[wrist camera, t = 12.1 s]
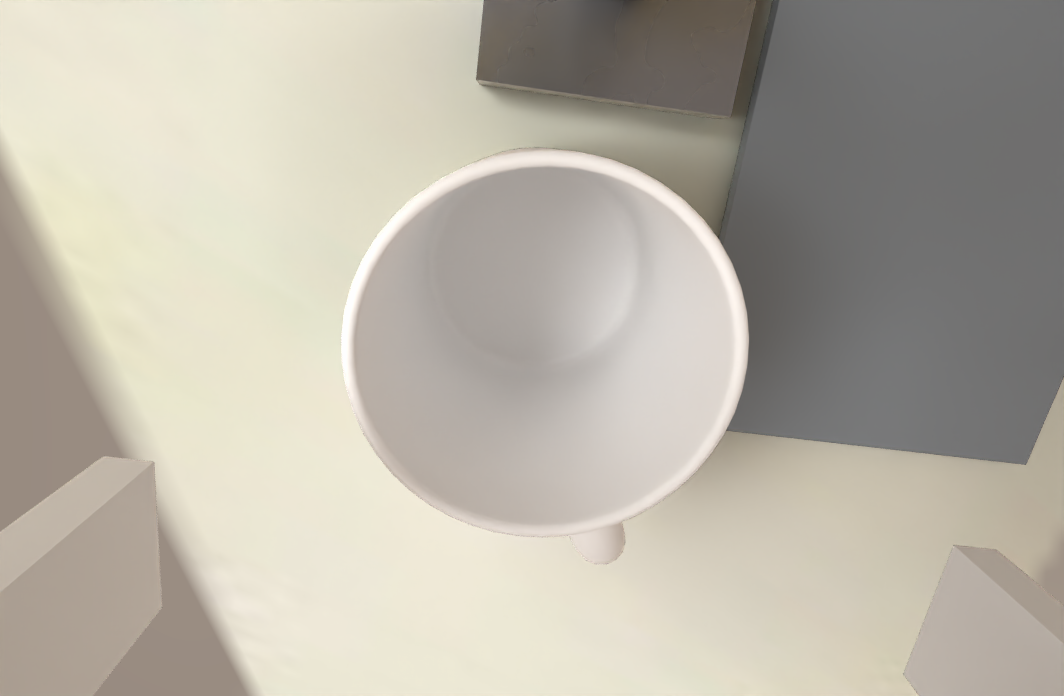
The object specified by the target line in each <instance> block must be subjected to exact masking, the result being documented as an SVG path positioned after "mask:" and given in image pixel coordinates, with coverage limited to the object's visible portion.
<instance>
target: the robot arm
mask: <svg viewBox="0 0 1064 696" xmlns="http://www.w3.org/2000/svg"><path fill="white" fill-rule="evenodd" d="M161 608H162V596H161V579H160V560H159V541H158V522H157V504H156V485H155V467H154V462H153V461H144V460H134V459H124V458H115V457H105V456H104V457H102V458H100V459H99V460H98V461H96V462H95V463H94V464H92V465H91V466H89V467H88V468H87V469H85V470H84V471H83V472H81V473H80V474H78V475H77V476H76V477H74V478H73V479H72V480H70V481H69V482H68V483H66V484H65V485H64V486H62V487H61V488H59V489H58V490H57V491H55V492H54V493H53V494H51V495H50V496H48V497H47V498H46V499H44V500H43V501H42V502H40V503H39V504H37V505H36V506H35V507H34V508H32V509H31V510H29V511H28V512H27V513H25V514H24V515H22V516H21V517H20V518H18V519H17V520H16V521H14V522H13V523H12V524H10V525H9V526H8V527H6V528H5V529H3V530H2V531H1V532H0V696H93V695H94V694H95V692H96V691H97V690H98V688H99V687H100V686H101V685H102V683H103V682H104V681H105V680H106V678H107V677H108V675H110V673H111V672H112V670H113V669H114V668H115V667H116V666H117V664H118V663H119V662H120V660H121V659H122V658H123V657H124V655H125V654H126V653H127V651H128V650H129V649H130V648H131V646H132V645H133V644H134V643H135V641H136V640H137V639H138V637H139V636H140V635H141V634H142V632H143V631H144V630H145V628H146V627H147V626H148V625H149V623H150V622H151V621H152V620H153V618H154V617H155V616H156V614H157V613H158V612H159V611H160V609H161ZM903 675H904V676H905V677H906V679H907V680H908V681H909V683H910V684H911V686H912V687H913V688H914V690H915V691H916V692H917V694H918V695H919V696H1064V605H1063V604H1062V603H1060V602H1059V601H1058V600H1057V599H1056V598H1054V597H1053V596H1052V595H1051V594H1049V593H1048V592H1047V591H1046V590H1045V589H1043V588H1042V587H1041V586H1040V585H1039V584H1037V583H1036V582H1035V581H1034V580H1033V579H1031V578H1030V577H1029V576H1028V575H1027V574H1025V573H1024V572H1023V571H1022V570H1020V569H1019V568H1018V567H1017V566H1016V565H1014V564H1013V563H1012V562H1011V561H1010V560H1008V559H1007V558H1006V557H1005V556H1003V555H1002V554H1001V553H1000V552H999V551H997V550H995V549H986V548H976V547H967V546H957V545H953V548H952V550H951V553H950V555H949V558H948V561H947V563H946V566H945V568H944V571H943V573H942V576H941V578H940V581H939V584H938V586H937V589H936V591H935V594H934V596H933V599H932V601H931V604H930V607H929V609H928V612H927V614H926V617H925V619H924V622H923V624H922V627H921V630H920V632H919V635H918V637H917V640H916V642H915V645H914V647H913V650H912V653H911V655H910V658H909V660H908V663H907V665H906V668H905V670H904V673H903Z"/></svg>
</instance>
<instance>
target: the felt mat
mask: <svg viewBox="0 0 1064 696" xmlns="http://www.w3.org/2000/svg"><path fill="white" fill-rule="evenodd" d="M719 240H720V242H721V244H722V246H723V247H724V249H725V251H726V253H727V255H728V257H729V258H730V260H731V262H732V264H733V267H734V269H735V272H736V275H737V277H738V280H739V283H740V285H741V288H742V292H743V297H744V301H745V306H746V310H747V318H748V332H749V347H748V363H747V370H746V375H745V380H744V385H743V390H742V393H741V396H740V399H739V402H738V404H737V407H736V410H735V413H734V415H733V417H732V419H731V421H730V423H729V425H728V427H727V429H726V431H735V432H743V433H752V434H761V435H770V436H778V437H787V438H796V439H805V440H813V441H822V442H831V443H840V444H849V445H857V446H866V447H875V448H884V449H892V450H901V451H910V452H919V453H928V454H936V455H945V456H954V457H963V458H971V459H980V460H989V461H998V462H1006V463H1015V464H1024V465H1026V463H1027V461H1028V459H1029V456H1030V454H1031V452H1032V449H1033V447H1034V445H1035V442H1036V440H1037V438H1038V435H1039V433H1040V431H1041V428H1042V426H1043V424H1044V421H1045V419H1046V417H1047V414H1048V412H1049V410H1050V408H1051V405H1052V403H1053V401H1054V398H1055V396H1056V394H1057V391H1058V389H1059V387H1060V384H1061V382H1062V380H1063V377H1064V0H773V2H772V7H771V11H770V15H769V20H768V24H767V29H766V33H765V37H764V42H763V46H762V51H761V55H760V59H759V64H758V68H757V73H756V77H755V82H754V86H753V90H752V95H751V99H750V104H749V108H748V112H747V117H746V121H745V126H744V130H743V134H742V139H741V143H740V148H739V152H738V157H737V161H736V165H735V170H734V174H733V179H732V183H731V187H730V192H729V196H728V201H727V205H726V209H725V214H724V218H723V223H722V227H721V231H720V236H719Z"/></svg>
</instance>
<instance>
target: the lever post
mask: <svg viewBox="0 0 1064 696" xmlns="http://www.w3.org/2000/svg"><path fill="white" fill-rule="evenodd" d="M755 5H756V0H484V5H483V15H482V25H481V36H480V46H479V56H478V67H477V77H476V80H477V82H478V83H479V84H481V85H488V86H495V87H501V88H508V89H515V90H522V91H529V92H536V93H542V94H549V95H556V96H563V97H570V98H577V99H583V100H590V101H597V102H604V103H611V104H618V105H625V106H631V107H638V108H645V109H652V110H659V111H666V112H672V113H679V114H686V115H693V116H700V117H707V118H713V119H719V118H727V117H731V114H732V110H733V105H734V100H735V96H736V91H737V87H738V82H739V78H740V73H741V69H742V64H743V59H744V55H745V50H746V46H747V41H748V37H749V32H750V28H751V23H752V18H753V14H754V9H755Z"/></svg>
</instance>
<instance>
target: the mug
mask: <svg viewBox="0 0 1064 696" xmlns="http://www.w3.org/2000/svg"><path fill="white" fill-rule="evenodd" d="M748 347H749V332H748V318H747V310H746V306H745V301H744V297H743V292H742V288H741V285H740V283H739V280H738V277H737V275H736V272H735V269H734V267H733V264H732V262H731V260H730V258H729V257H728V255H727V253H726V251H725V249H724V247H723V246H722V244H721V242H720V240H719V239H718V237H717V236H716V235H715V233H714V232H713V231H712V229H711V228H710V227H709V225H708V224H707V223H706V221H705V220H704V219H703V218H702V217H701V216H700V215H699V214H698V213H697V212H696V211H695V210H694V209H693V208H692V207H691V206H690V205H689V204H688V203H687V202H686V201H685V200H684V199H683V198H682V197H680V196H679V195H678V194H676V193H675V192H674V191H672V190H671V189H670V188H668V187H667V186H666V185H664V184H663V183H661V182H660V181H658V180H656V179H654V178H653V177H651V176H649V175H647V174H645V173H643V172H642V171H640V170H638V169H636V168H633V167H631V166H628V165H626V164H623V163H620V162H618V161H615V160H612V159H610V158H606V157H601V156H597V155H592V154H588V153H583V152H577V151H569V150H560V149H551V148H539V147H535V148H519V149H514V150H509V151H503V152H500V153H497V154H494V155H492V156H489V157H486V158H483V159H481V160H478V161H476V162H474V163H471V164H469V165H466V166H464V167H462V168H460V169H458V170H456V171H454V172H452V173H450V174H448V175H446V176H444V177H442V178H440V179H438V180H437V181H435V182H434V183H432V184H431V185H430V186H428V187H427V188H425V189H424V190H422V191H421V192H419V193H418V194H417V195H415V196H414V197H413V198H412V199H411V200H410V201H408V202H407V203H406V204H405V205H404V206H403V207H402V208H401V209H400V210H399V211H398V212H397V213H395V214H394V215H393V217H392V218H391V219H390V220H389V221H388V223H387V224H386V225H385V226H384V228H383V229H382V230H381V231H380V232H379V234H378V235H377V236H376V238H375V239H374V241H373V243H372V244H371V246H370V248H369V249H368V251H367V253H366V254H365V256H364V257H363V259H362V261H361V263H360V266H359V268H358V270H357V273H356V275H355V277H354V280H353V282H352V284H351V288H350V291H349V295H348V299H347V302H346V306H345V310H344V317H343V326H342V334H341V349H342V366H343V373H344V379H345V386H346V389H347V393H348V396H349V399H350V403H351V406H352V409H353V412H354V414H355V417H356V419H357V421H358V423H359V425H360V427H361V430H362V432H363V434H364V436H365V437H366V439H367V440H368V442H369V444H370V445H371V447H372V448H373V450H374V452H375V453H376V455H377V456H378V457H379V458H380V460H381V461H382V462H383V463H384V465H385V466H386V467H387V468H388V469H389V471H390V472H391V473H392V474H393V475H394V476H395V477H396V478H397V479H398V480H399V481H400V482H401V483H402V484H403V485H405V486H406V487H407V488H408V489H409V490H410V491H411V492H413V493H414V494H415V495H417V496H418V497H419V498H421V499H422V500H424V501H425V502H426V503H428V504H429V505H431V506H433V507H434V508H436V509H438V510H440V511H442V512H443V513H445V514H447V515H449V516H451V517H453V518H455V519H458V520H460V521H463V522H465V523H467V524H470V525H472V526H476V527H479V528H482V529H486V530H489V531H493V532H497V533H503V534H509V535H515V536H527V537H558V536H569V537H570V539H571V541H572V543H573V545H574V547H575V549H576V550H577V552H578V553H579V554H580V555H581V556H582V557H583V558H584V559H585V560H586V561H589V562H591V563H594V564H608V563H610V562H612V561H614V560H616V559H617V558H618V557H619V556H620V554H621V553H622V552H623V549H624V545H625V532H624V528H623V524H622V522H623V521H625V520H627V519H630V518H632V517H635V516H637V515H638V514H640V513H642V512H644V511H646V510H647V509H649V508H651V507H653V506H655V505H656V504H658V503H659V502H661V501H662V500H664V499H665V498H666V497H668V496H669V495H670V494H672V493H673V492H675V491H676V490H677V489H678V488H679V487H681V486H682V485H683V484H684V483H685V482H686V481H687V480H688V479H689V478H690V477H691V476H693V475H694V474H695V472H696V471H697V470H698V469H699V468H700V467H701V465H702V464H703V463H704V462H705V461H706V460H707V458H708V457H709V456H710V455H711V453H712V452H713V450H714V449H715V447H716V446H717V444H718V443H719V441H720V440H721V438H722V437H723V435H724V433H725V431H726V429H727V427H728V425H729V423H730V421H731V419H732V417H733V415H734V413H735V410H736V407H737V404H738V402H739V399H740V396H741V393H742V390H743V385H744V380H745V375H746V370H747V363H748Z"/></svg>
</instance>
